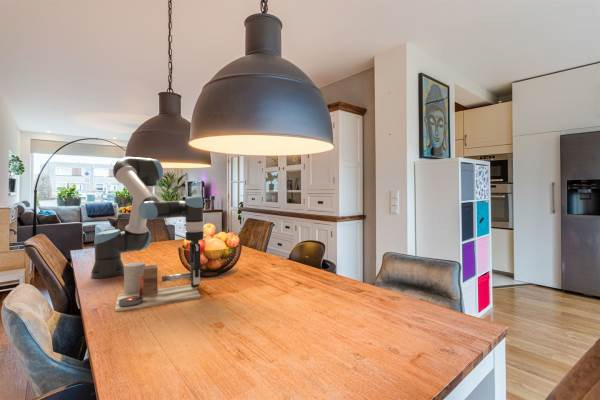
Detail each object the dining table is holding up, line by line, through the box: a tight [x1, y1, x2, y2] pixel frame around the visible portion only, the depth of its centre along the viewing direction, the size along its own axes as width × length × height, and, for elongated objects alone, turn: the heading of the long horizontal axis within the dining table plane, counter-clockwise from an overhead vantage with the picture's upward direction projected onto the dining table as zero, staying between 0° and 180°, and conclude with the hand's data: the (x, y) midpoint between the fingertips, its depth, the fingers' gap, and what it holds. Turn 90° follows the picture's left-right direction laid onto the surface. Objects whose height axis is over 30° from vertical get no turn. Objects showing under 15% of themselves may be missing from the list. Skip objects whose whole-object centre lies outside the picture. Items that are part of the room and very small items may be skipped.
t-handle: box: [161, 263, 200, 288], centre depth 134 cm, size 4×15×10 cm, turn 118°
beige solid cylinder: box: [123, 261, 146, 294], centre depth 133 cm, size 8×8×12 cm
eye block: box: [114, 264, 202, 312], centre depth 125 cm, size 18×30×12 cm, turn 118°
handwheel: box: [119, 275, 144, 307], centre depth 116 cm, size 10×8×9 cm
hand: (195, 281), depth 136 cm, fingers open, 7 cm apart
